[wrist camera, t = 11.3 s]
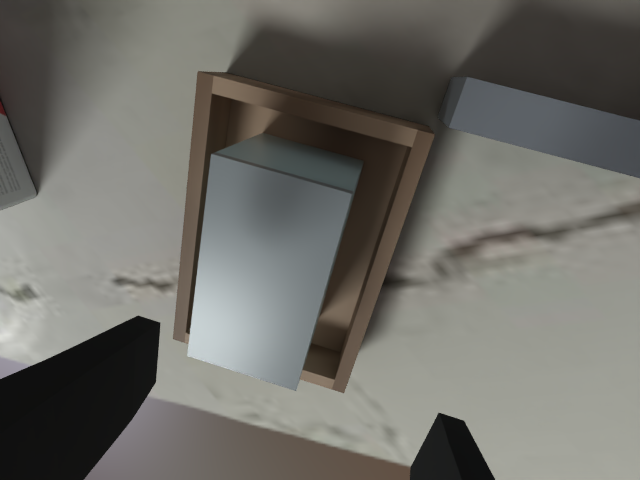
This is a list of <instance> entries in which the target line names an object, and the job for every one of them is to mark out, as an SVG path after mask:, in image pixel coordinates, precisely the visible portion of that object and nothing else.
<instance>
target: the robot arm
mask: <svg viewBox="0 0 640 480" xmlns="http://www.w3.org/2000/svg"><path fill="white" fill-rule="evenodd" d="M159 334H160V322H156V321H153V320H150V319H147V318H144V317H141V316H136V317H134V318H132V319H130V320H128V321H126V322H124V323H122V324H119V325H117V326H115V327H113V328H111V329H109V330H107V331H105V332H103V333H101V334H99V335H97V336H95V337H93V338H91V339H89V340H87V341H85V342H82V343H80V344H78V345H76V346H74V347H72V348H70V349H68V350H66V351H63V352H61V353H59V354H57V355H55V356H53V357H51V358H48V359H46V360H44V361H42V362H39V363H37V364H35V365H32V366H30V367H28V368H25V369H23V370H21V371H18V372H16V373H14V374H11V375H9V376H7V377H4V378H2V379H0V480H84V479H85V477H86V476H87V475H88V473H89V472H90V471H91V470H92V469H93V467H94V466H95V465H96V464H97V463H98V461H99V460H100V459H101V458H102V456H103V455H104V454H105V452H106V451H107V450H108V449H109V448H110V446H111V445H112V444H113V443H114V441H115V440H116V439H117V438H118V436H119V435H120V434H121V433H122V431H123V430H124V429H125V428H126V426H127V425H128V424H129V422H130V421H131V420H132V419H133V417H134V416H135V414H136V413H137V411H138V409H139V408H140V406H141V405H142V403H143V402H144V400H145V399H146V397H147V395H148V394H149V392H150V391H151V389H152V387H153V386H154V384H155V383H156V373H157V360H158V347H159ZM410 480H495V478H494V477H493V475H492V473H491V471H490V469H489V467H488V465H487V463H486V462H485V460H484V458H483V456H482V454H481V452H480V450H479V448H478V446H477V444H476V443H475V441H474V439H473V437H472V435H471V433H470V431H469V429H468V427H467V426H466V424H465V422H464V421H463V420H460V419H457V418H454V417H451V416H448V415H444V414H441V413H438V415H437V417H436V419H435V421H434V423H433V425H432V427H431V429H430V431H429V433H428V435H427V437H426V439H425V441H424V443H423V444H422V446H421V448H420V450H419V452H418V454H417V456H416V458H415V460H414V462H413V464H412V466H411V470H410Z"/></svg>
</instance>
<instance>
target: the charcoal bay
mask: <svg viewBox="0 0 640 480" xmlns="http://www.w3.org/2000/svg"><path fill="white" fill-rule="evenodd" d="M437 118H439V119H440V120H441V121H442V122H443V123H444V124H445V125H446V126H448V127H449V128H452V129H456V130H460V131H463V132H467V133H471V134H475V135H479V136H482V137H486V138H490V139H494V140H498V141H501V142H505V143H509V144H513V145H516V146H520V147H524V148H528V149H532V150H535V151H539V152H543V153H547V154H551V155H554V156H558V157H562V158H566V159H569V160H573V161H577V162H581V163H585V164H588V165H592V166H596V167H600V168H603V169H607V170H611V171H615V172H619V173H622V174H626V175H630V176H634V177H638V178H640V121H639V120H635V119H631V118H627V117H623V116H620V115H616V114H612V113H608V112H604V111H600V110H596V109H592V108H588V107H584V106H580V105H576V104H572V103H568V102H565V101H561V100H557V99H553V98H549V97H545V96H541V95H537V94H533V93H529V92H525V91H521V90H517V89H513V88H509V87H506V86H502V85H498V84H494V83H490V82H486V81H482V80H478V79H474V78H470V77H451V80H450V83H449V86H448V88H447V91H446V94H445V97H444V100H443V103H442V106H441V109H440V111H439V114H438V117H437Z"/></svg>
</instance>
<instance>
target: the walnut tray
mask: <svg viewBox="0 0 640 480" xmlns="http://www.w3.org/2000/svg"><path fill="white" fill-rule="evenodd" d="M261 133H265V134H269V135H272V136H276V137H279V138H283V139H287V140H290V141H294V142H297V143H301V144H305V145H308V146H312V147H315V148H319V149H323V150H326V151H330V152H333V153H337V154H341V155H344V156H348V157H351V158H355V159H359V160H362V161H364V163H363V167H362V170H361V174H360V177H359V181H358V184H357V187H356V191H355V194H354V198H353V201H352V205H351V208H350V212H349V215H348V219H347V222H346V226H345V229H344V233H343V236H342V240H341V243H340V247H339V250H338V254H337V257H336V260H335V264H334V267H333V271H332V274H331V278H330V281H329V285H328V288H327V292H326V295H325V299H324V302H323V306H322V309H321V313H320V316H319V319H318V323H317V326H316V329H315V332H314V335H313V339H312V342H311V345H310V348H309V351H308V354H307V358H306V361H305V364H304V367H303V370H302V374H301V377H300V379H301V380H304V381H307V382H310V383H313V384H317V385H320V386H323V387H326V388H329V389H332V390H335V391H339V392H342V393H344V392H345V389H346V386H347V383H348V380H349V378H350V375H351V372H352V369H353V366H354V363H355V360H356V358H357V355H358V352H359V349H360V346H361V343H362V341H363V338H364V335H365V332H366V329H367V326H368V324H369V321H370V318H371V315H372V312H373V309H374V306H375V304H376V301H377V298H378V295H379V292H380V289H381V287H382V284H383V281H384V278H385V275H386V272H387V270H388V267H389V264H390V261H391V258H392V255H393V252H394V250H395V247H396V244H397V241H398V238H399V235H400V233H401V230H402V227H403V224H404V221H405V218H406V216H407V213H408V210H409V207H410V204H411V201H412V199H413V196H414V193H415V190H416V187H417V184H418V181H419V179H420V176H421V173H422V170H423V167H424V164H425V162H426V159H427V156H428V153H429V150H430V147H431V145H432V142H433V139H434V136H435V134H434V133H433V131H432V130H431V128H430V127H429V126H426V125H422V124H418V123H414V122H411V121H407V120H403V119H399V118H396V117H392V116H388V115H384V114H381V113H377V112H373V111H369V110H365V109H362V108H358V107H354V106H350V105H347V104H343V103H339V102H335V101H331V100H328V99H324V98H320V97H316V96H313V95H309V94H305V93H301V92H297V91H294V90H290V89H286V88H282V87H279V86H275V85H271V84H267V83H264V82H260V81H256V80H252V79H248V78H245V77H241V76H237V75H233V74H230V73H226V72H201V71H198V74H197V84H196V95H195V106H194V117H193V128H192V139H191V150H190V160H189V171H188V182H187V193H186V204H185V215H184V225H183V236H182V247H181V258H180V269H179V280H178V290H177V301H176V312H175V323H174V334H173V339H175V340H178V341H181V342H184V343H187V344H189V337H190V328H191V320H192V311H193V303H194V295H195V286H196V278H197V269H198V261H199V252H200V244H201V235H202V227H203V219H204V210H205V202H206V193H207V185H208V176H209V168H210V159H211V154H212V153H215V152H217V151H219V150H222V149H224V148H227V147H229V146H232V145H234V144H237V143H239V142H241V141H244V140H246V139H249V138H251V137H254V136H256V135H258V134H261Z"/></svg>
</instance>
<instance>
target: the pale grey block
mask: <svg viewBox="0 0 640 480" xmlns="http://www.w3.org/2000/svg"><path fill="white" fill-rule="evenodd" d="M363 163H364V161H362V160H359V159H355V158H351V157H348V156H344V155H341V154H337V153H333V152H330V151H326V150H323V149H319V148H315V147H312V146H308V145H305V144H301V143H297V142H294V141H290V140H287V139H283V138H279V137H276V136H272V135H269V134H265V133H261V134H258V135H256V136H254V137H251V138H249V139H246V140H244V141H241V142H239V143H237V144H234V145H232V146H229V147H227V148H224V149H222V150H219V151H217V152H215V153H212V154H211V159H210V168H209V176H208V185H207V193H206V202H205V210H204V219H203V227H202V235H201V244H200V252H199V261H198V269H197V278H196V286H195V295H194V303H193V311H192V320H191V328H190V337H189V345H188V354H187V356H189V357H192V358H195V359H198V360H201V361H205V362H208V363H211V364H214V365H217V366H220V367H223V368H226V369H229V370H232V371H236V372H239V373H242V374H245V375H248V376H251V377H254V378H257V379H260V380H264V381H267V382H270V383H273V384H276V385H279V386H282V387H285V388H288V389H291V390H295V391H296V390H297V386H298V383H299V380H300V377H301V374H302V370H303V367H304V364H305V361H306V358H307V354H308V351H309V348H310V345H311V342H312V339H313V335H314V332H315V329H316V326H317V323H318V319H319V316H320V313H321V309H322V306H323V302H324V299H325V295H326V292H327V288H328V285H329V281H330V278H331V274H332V271H333V267H334V264H335V260H336V257H337V254H338V250H339V247H340V243H341V240H342V236H343V233H344V229H345V226H346V222H347V219H348V215H349V212H350V208H351V205H352V201H353V198H354V194H355V191H356V187H357V184H358V181H359V177H360V174H361V170H362V167H363Z"/></svg>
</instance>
